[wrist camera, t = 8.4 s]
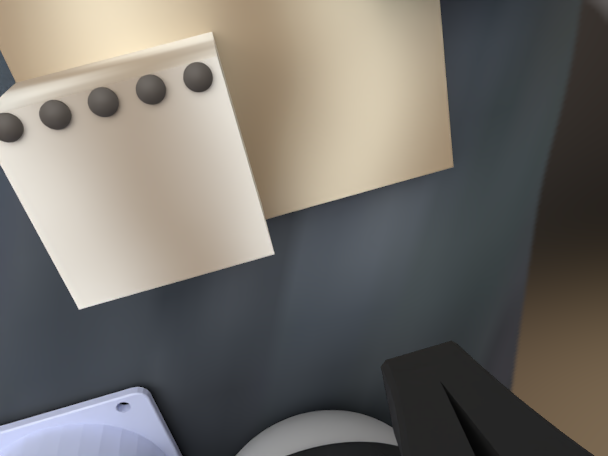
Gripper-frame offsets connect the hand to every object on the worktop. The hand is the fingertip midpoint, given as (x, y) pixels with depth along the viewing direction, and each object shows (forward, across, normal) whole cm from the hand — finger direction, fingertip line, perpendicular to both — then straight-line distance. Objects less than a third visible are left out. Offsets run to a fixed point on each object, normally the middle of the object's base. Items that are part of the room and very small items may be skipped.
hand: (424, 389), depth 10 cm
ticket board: (+9, +2, -6) cm, 12 cm away
